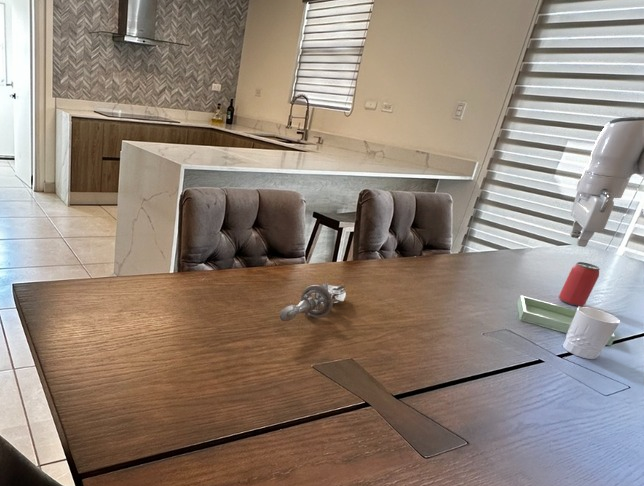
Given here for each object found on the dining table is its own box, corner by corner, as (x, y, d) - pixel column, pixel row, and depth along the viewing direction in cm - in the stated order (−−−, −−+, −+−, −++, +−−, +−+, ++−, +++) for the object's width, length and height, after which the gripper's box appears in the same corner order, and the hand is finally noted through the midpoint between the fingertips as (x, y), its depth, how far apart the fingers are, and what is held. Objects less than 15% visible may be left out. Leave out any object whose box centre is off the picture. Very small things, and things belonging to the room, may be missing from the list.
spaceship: (262, 298, 100) (296, 297, 95) (327, 275, 127) (356, 274, 122) (266, 335, 100) (300, 336, 95) (330, 304, 127) (359, 304, 122)
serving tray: (600, 325, 128) (604, 317, 126) (610, 346, 116) (615, 337, 115) (517, 303, 136) (520, 295, 135) (519, 320, 125) (523, 311, 124)
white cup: (596, 350, 113) (616, 314, 109) (603, 365, 107) (623, 326, 103) (557, 339, 116) (575, 303, 113) (561, 352, 110) (580, 315, 106)
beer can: (563, 304, 140) (581, 267, 135) (553, 295, 145) (570, 259, 141) (588, 308, 138) (607, 271, 134) (577, 300, 144) (595, 263, 140)
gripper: (628, 195, 103) (601, 254, 109) (607, 184, 120) (585, 235, 126) (593, 190, 106) (568, 248, 111) (577, 179, 123) (556, 230, 128)
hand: (577, 241), depth 119 cm, fingers open, 8 cm apart
